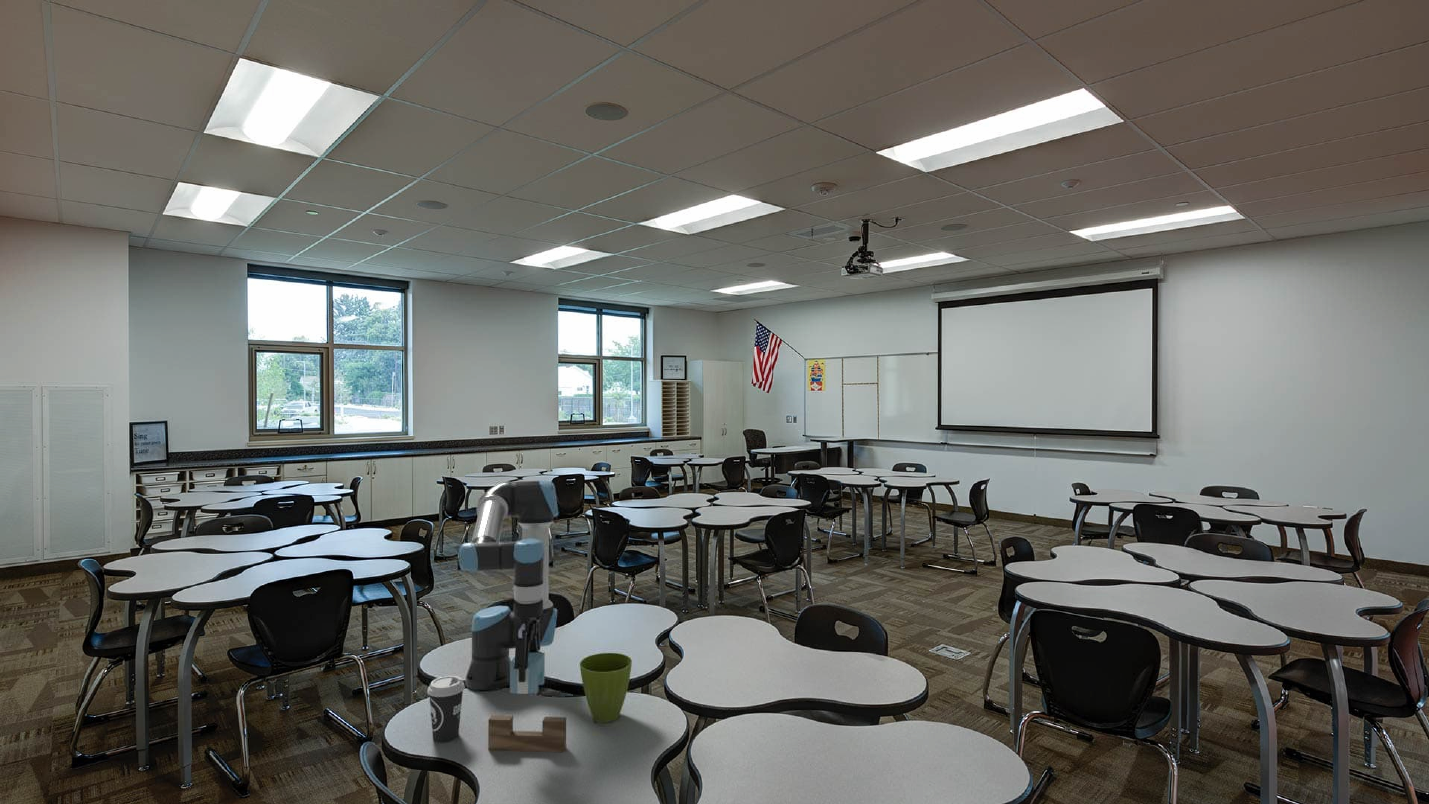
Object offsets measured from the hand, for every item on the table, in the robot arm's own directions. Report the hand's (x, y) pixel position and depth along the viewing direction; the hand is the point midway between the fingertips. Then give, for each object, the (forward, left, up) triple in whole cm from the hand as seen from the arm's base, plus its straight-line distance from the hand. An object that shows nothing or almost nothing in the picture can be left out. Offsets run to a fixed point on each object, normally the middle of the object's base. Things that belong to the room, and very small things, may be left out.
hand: (527, 686), depth 180 cm
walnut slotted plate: (0, 0, -16) cm, 16 cm away
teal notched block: (0, 0, 0) cm, 0 cm away
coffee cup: (-5, -24, -17) cm, 30 cm away
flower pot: (-19, +17, -17) cm, 31 cm away
